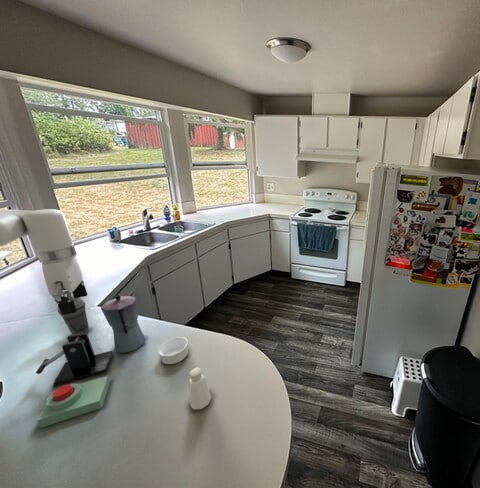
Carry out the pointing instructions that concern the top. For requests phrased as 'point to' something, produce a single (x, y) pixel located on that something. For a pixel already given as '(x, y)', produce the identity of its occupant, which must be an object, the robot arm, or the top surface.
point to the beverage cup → (76, 317)
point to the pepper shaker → (198, 390)
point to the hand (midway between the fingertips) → (75, 304)
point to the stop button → (62, 392)
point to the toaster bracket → (81, 361)
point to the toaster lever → (55, 357)
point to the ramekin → (173, 350)
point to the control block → (75, 402)
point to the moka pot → (124, 323)
